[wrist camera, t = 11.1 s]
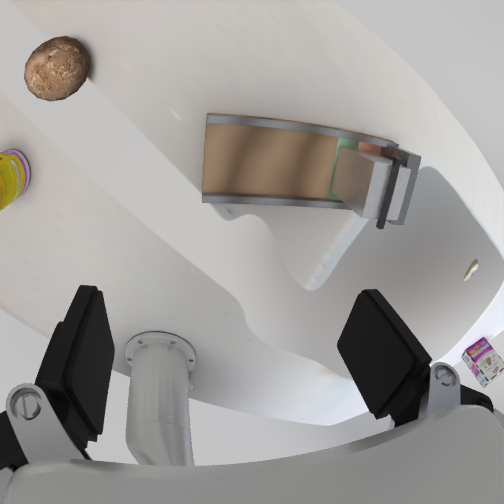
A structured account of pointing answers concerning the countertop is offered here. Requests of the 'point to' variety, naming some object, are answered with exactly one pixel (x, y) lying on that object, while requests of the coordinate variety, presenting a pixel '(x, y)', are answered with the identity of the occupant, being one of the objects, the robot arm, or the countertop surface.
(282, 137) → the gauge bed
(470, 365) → the candy bar box
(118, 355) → the countertop surface
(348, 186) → the block
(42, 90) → the mushroom
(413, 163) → the upright gray plate
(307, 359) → the countertop surface
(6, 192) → the supplement bottle
